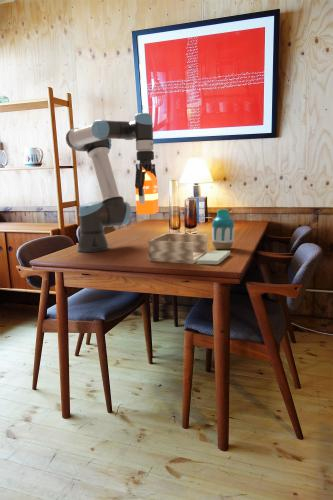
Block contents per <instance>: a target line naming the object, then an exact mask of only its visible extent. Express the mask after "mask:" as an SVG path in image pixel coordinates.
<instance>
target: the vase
mask: <svg viewBox="0 0 333 500" xmlns="http://www.w3.org/2000/svg"><path fill="white" fill-rule="evenodd" d="M211 223H212V224H211V241H212V245H213V247H214V248H215V249H216V250H219V251H227V250H229V249H231V248H232V247H233V245H234V241H235V222H234V219H233V218H232V217H231V216H230V209H225V208H221V209H217V212H216V216H215V218H213V219H212V222H211Z"/></svg>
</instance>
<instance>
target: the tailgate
mask: <svg viewBox="0 0 333 500" xmlns="http://www.w3.org/2000/svg"><path fill="white" fill-rule="evenodd" d="M230 255H231V250H210V251H207V254H205V255H204V256H202V257H201V258H199V259H198V260H197V261H196V265H219V264H220V263H222V262H223V261H224V260H225V259H226V258H227V257H229V256H230Z"/></svg>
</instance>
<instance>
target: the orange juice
mask: <svg viewBox="0 0 333 500" xmlns="http://www.w3.org/2000/svg"><path fill="white" fill-rule="evenodd" d="M143 169H144V168H142V172H146V170H145V169H144V170H143ZM156 178H157V176H156V177H155V176H154V174H153V173H152V174H151V172H149V171H148V172H146V174H145V180H144V187H143V188H145V204H139V195H138V189H136V187H135V186H134V187H135V189H134V190H135V202H136V203H135V206H136V207H135V208H136V215H155V214H157V213H159V212H160V211H159V191H158V190H159V188H158V178H157V179H156Z"/></svg>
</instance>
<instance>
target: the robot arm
mask: <svg viewBox="0 0 333 500" xmlns="http://www.w3.org/2000/svg"><path fill="white" fill-rule="evenodd" d="M153 130H154V123H153V117H152V114H151V113H148V112H142V113H141V112H139V113H136V114H135V115H134V120H132V121H126V120H124V121H123V120H105V119H96V120H94V121H93V123H92V124H91V125H88V126H84V127H75V128H71V129H69V130H68V131H67V133H66V134H65V141H66V144H67V146H68V147H69V148H70V149H72V150H74V151H75V152H76V151H77V152H87V157H88V158H90V159H91V160H92V163H93V167H94V172H95V175H96V178H97V182H98V186H99V189H100V192H101V197H102V200H101V201H90V202H86V203H83V204H80V205H79V207H78V219H79V220H78V221H79V231H80V234H79V235H80V236H79V240H78V243H77V251H79V252H83V253H97V252H103V251H107V250H108V249H109V247H110V246H109V242H108V240H107V239H108V238H107V236H106V234H105V228H108V227H115V226H116V227H117V226H124V225H127V224H128V223H129V222H130V219H131V217H132V209H131V205H130V204H129V202H127V201H125V200H124V197H123V196H121V195H120V193H119V191H118V187H117V183H116V178H115V176H114V172H113V168H112V166H111V162H110V158H109V153H110V152H111V151H110V150H111V149H112V140H113V139H115V140H126V141H132V140H135V148H136V151H137V152H136V161H139V163H135V179H134V187H136V189H138V195H139V204H145V188H143V187H144V180H145V174H146V172H148V171H149V172H151V174H152V173H153V174H154V176H155V177H156V179H157V180H158V177H157V174H156V173H157V171H156V163H152V161H154V160H155V153H154V143H155V142H154V131H153ZM142 168H144V169H145V170H146V172H142ZM144 169H143V170H144ZM136 189H135V190H136Z"/></svg>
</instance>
